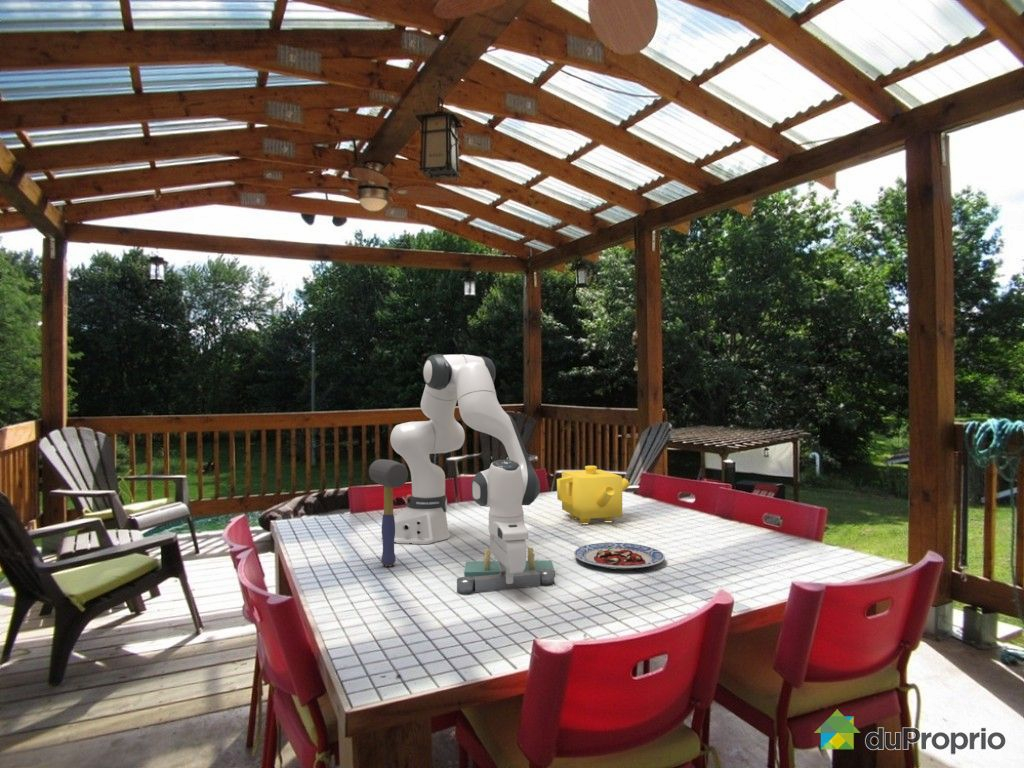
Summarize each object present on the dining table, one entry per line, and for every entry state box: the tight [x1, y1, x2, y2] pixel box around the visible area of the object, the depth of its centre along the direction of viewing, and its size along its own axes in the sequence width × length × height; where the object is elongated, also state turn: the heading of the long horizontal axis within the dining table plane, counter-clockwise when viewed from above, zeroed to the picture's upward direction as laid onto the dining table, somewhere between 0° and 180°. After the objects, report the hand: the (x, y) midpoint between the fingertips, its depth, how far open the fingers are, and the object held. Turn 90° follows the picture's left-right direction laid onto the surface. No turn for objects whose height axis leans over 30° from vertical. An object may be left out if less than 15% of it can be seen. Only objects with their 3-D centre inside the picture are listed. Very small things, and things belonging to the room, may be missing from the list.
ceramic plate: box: [573, 542, 666, 570], centre depth 178 cm, size 26×26×3 cm
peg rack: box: [463, 547, 556, 578], centre depth 168 cm, size 24×10×6 cm, turn 92°
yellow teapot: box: [556, 465, 631, 524], centre depth 233 cm, size 35×29×20 cm
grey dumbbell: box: [456, 569, 555, 596], centre depth 155 cm, size 25×4×3 cm, turn 107°
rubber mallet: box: [368, 458, 409, 567], centre depth 174 cm, size 12×8×30 cm, turn 37°
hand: (506, 580), depth 155 cm, fingers closed on grey dumbbell, 3 cm apart
